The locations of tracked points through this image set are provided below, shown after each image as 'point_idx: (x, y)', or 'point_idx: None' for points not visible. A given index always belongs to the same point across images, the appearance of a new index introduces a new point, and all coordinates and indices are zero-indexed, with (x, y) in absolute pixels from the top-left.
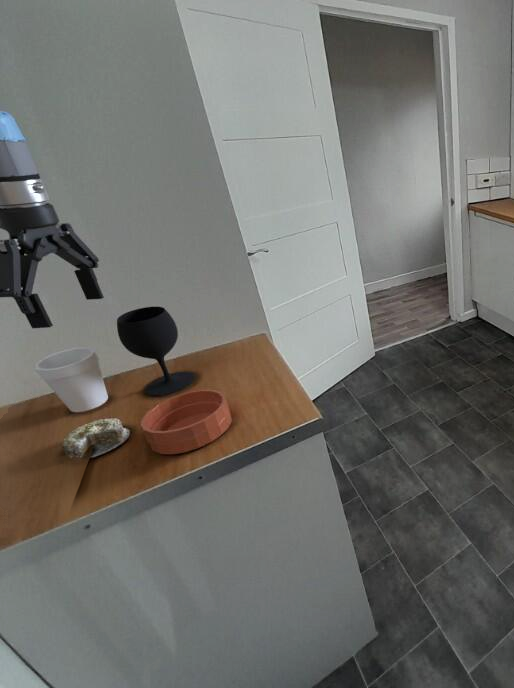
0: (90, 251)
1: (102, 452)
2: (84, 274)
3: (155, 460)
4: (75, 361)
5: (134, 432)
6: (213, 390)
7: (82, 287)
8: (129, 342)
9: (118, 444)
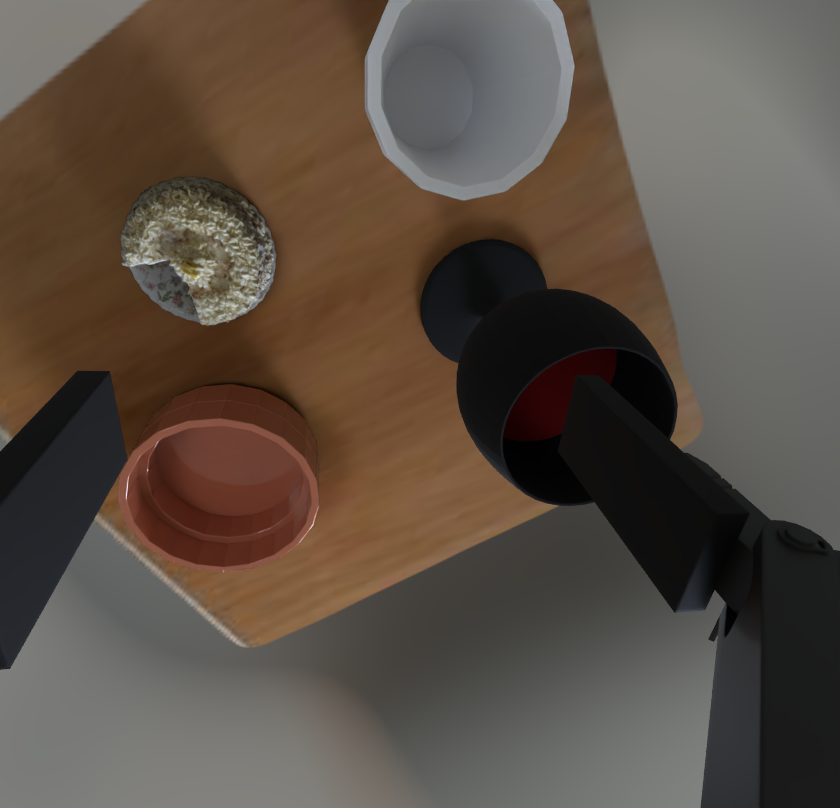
0: None
1: (156, 292)
2: (669, 542)
3: (128, 424)
4: (531, 64)
5: (249, 320)
6: (308, 526)
7: (621, 426)
8: (466, 368)
9: (187, 316)
